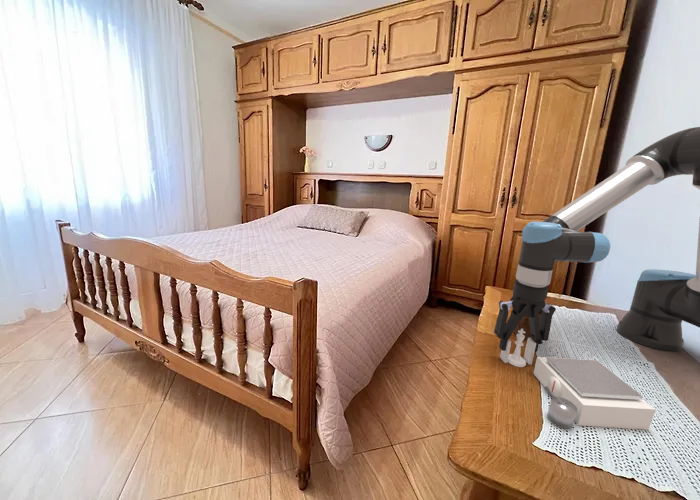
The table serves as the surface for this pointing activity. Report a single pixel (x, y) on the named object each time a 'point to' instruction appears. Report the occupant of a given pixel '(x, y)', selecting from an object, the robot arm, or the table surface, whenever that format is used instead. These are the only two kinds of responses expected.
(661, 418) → the table surface
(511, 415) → the table surface
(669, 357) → the table surface
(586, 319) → the table surface
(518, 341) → the chess piece
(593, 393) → the textured square plate
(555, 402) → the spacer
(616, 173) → the robot arm
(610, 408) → the scale
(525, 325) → the mug
